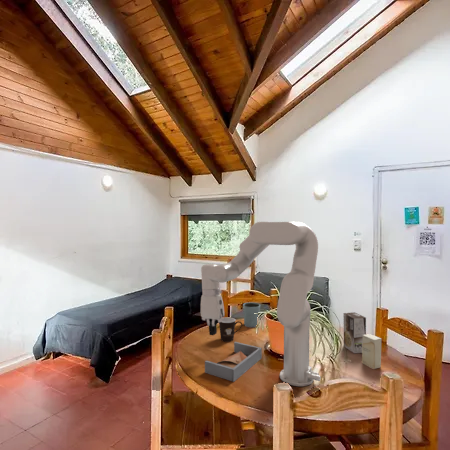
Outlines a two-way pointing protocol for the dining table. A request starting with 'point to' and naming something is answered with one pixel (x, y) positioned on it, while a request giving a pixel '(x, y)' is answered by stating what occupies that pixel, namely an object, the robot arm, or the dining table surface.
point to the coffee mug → (228, 329)
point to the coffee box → (354, 331)
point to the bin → (238, 370)
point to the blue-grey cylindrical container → (251, 314)
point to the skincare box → (371, 351)
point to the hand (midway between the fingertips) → (213, 334)
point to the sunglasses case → (233, 360)
